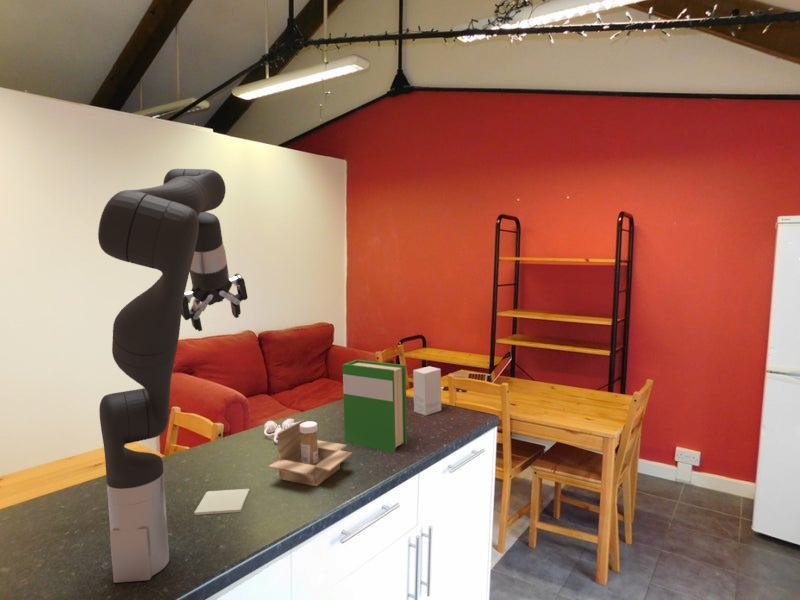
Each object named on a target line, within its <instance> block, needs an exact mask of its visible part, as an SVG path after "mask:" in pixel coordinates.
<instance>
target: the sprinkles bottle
mask: <svg viewBox="0 0 800 600" xmlns="http://www.w3.org/2000/svg"><path fill="white" fill-rule="evenodd" d="M300 434H301V460H302V463H304V464H310V465H316V464H318V443H317V440H318V423H317V422H316V421H312V420H311V421H310V420H309V421H308V420H307V421H305V422H303V423H301V424H300Z"/></svg>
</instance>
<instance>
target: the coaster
mask: <svg viewBox="0 0 800 600" xmlns="http://www.w3.org/2000/svg"><path fill="white" fill-rule="evenodd" d="M249 494H250V488H241V489H238V488H237V489H224V490H223V489H222V490H210V491H208V490H207V491H206V492H205V494H204V496H203V498H202V499H201V501H200V502H199V504H198V506H197V507H196V509H195V510H194V512H193V513H194V516H200V515H201V516H202V515H211V514H212V515H215V514H231V513H232V514H233V513H242V510H243V507H244V506H245V502H246V500H247V499H248V495H249Z"/></svg>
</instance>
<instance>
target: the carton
mask: <svg viewBox="0 0 800 600" xmlns="http://www.w3.org/2000/svg"><path fill="white" fill-rule="evenodd" d="M297 422H298V423H296V422H295V423H296V424H294V425H292V426H290V427H289V428H287V429H285V430H283V431H281V432H279V433H278V439H277V440H278V443H277V451H278V460H276V461H274V462H273V463H271V464H269V465H268V468H269V469H273V470H274V469H275V470H278V474H279V479H280V480H283V481H289V482H293V483H299V484H303V485H308V486H312V487H318V486H319V485H320V484H322V482H324V481H326V480H327V479H328V478H329V477H331V476H332V475H333V474H335V473H336V472H337V471H338V470H340V469H341V463H342V462H344V461H346V459H348V458H349V457H350V456H351V455H353V452H352V451H345V450H344V449H345V448H347V447H348V444H344V443H343V444H342V443H338V442H337V443H336V442H332V441H331V442H330V441H325V440H319V439H317V443H318V464H316V465H310V464H304V463H302V460H301V434H300V424H301V423H303V422H306V419H302V420H300V421H297Z"/></svg>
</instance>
